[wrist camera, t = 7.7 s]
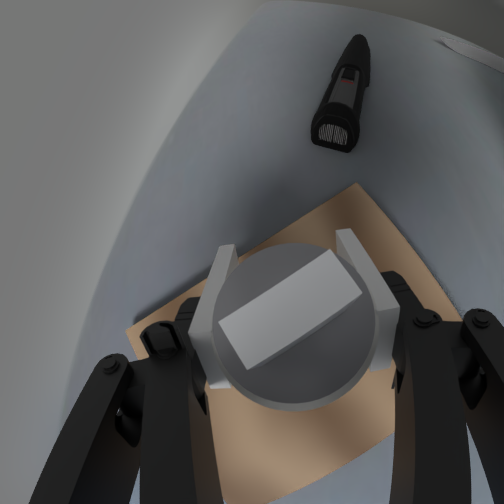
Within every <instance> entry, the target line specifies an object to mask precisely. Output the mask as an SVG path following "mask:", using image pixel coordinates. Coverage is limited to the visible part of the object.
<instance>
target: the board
mask: <svg viewBox="0 0 504 504" xmlns="http://www.w3.org/2000/svg"><path fill="white" fill-rule="evenodd" d="M349 228H351V230H352V231H353V233H354V234H355V236H356V237H357V239H358V240H359V242H360V243H361V245H362V246H363V248H364V249H365V251H366V252H367V254H368V255H369V257H370V258H371V260H372V261H373V263H374V265H375V266H376V268H377V269H378V271H379V273H380V272H386V271H392V270H393V271H395V272H396V273H398V274H400V275H401V276H402V277H403V278H404V279H405V281H406V282H407V284H408V285H409V286H410V288H411V290H412V291H413V292H414V294H415V295H416V297H417V298H418V299H419V301H420V302H421V304H422V305H423V307H424V308H425V309H430V310H433V311H435V312H436V313H438V314H439V315H440V316H441V318H442V320H443V321H463V320H462V319H461V317H460V316H459V314H458V312H457V311H456V309H455V308H454V306H453V305H452V303H451V302H450V300H449V299H448V297H447V296H446V294H445V293H444V291H443V290H442V288H441V287H440V285H439V284H438V282H437V281H436V280H435V278H434V277H433V275H432V274H431V272H430V271H429V270H428V268H427V267H426V266H425V264H424V263H423V261H422V260H421V259H420V257H419V256H418V255H417V253H416V252H415V251H414V250H413V248H412V247H411V246H410V244H409V243H408V242H407V241H406V239H405V238H404V237H403V235H402V234H401V233H400V232H399V230H398V229H397V228H396V227H395V226H394V224H393V223H392V222H391V221H390V219H389V218H388V217H387V216H386V215H385V214H384V212H383V211H382V210H381V209H380V208H379V207H378V205H377V204H376V203H375V202H374V201H373V200H372V198H371V197H370V196H369V195H368V194H367V193H366V192H365V191H364V190H363V188H362V187H361V186H360V185H359V184H358V183H357V182H356V183H354V184H353V185H351V186H350V187H348V188H347V189H345V190H343V191H342V192H340V193H339V194H337V195H336V196H334V197H332V198H331V199H329V200H328V201H326V202H325V203H323V204H322V205H320V206H318V207H317V208H315V209H314V210H312V211H311V212H309V213H307V214H306V215H304V216H303V217H301V218H300V219H298V220H297V221H295V222H293V223H292V224H290V225H289V226H287V227H286V228H284V229H282V230H281V231H279V232H278V233H276V234H275V235H273V236H272V237H270V238H268V239H267V240H265V241H264V242H262V243H261V244H259V245H258V246H256V247H254V248H253V249H251V250H250V251H248V252H247V253H245V254H243V255H242V256H240V257H239V258H238V262H239V264H240V263H242V262H243V261H244V260H246V259H247V258H248V257H250V256H251V255H253V254H255V253H257V252H258V251H261V250H263V249H265V248H268V247H271V246H275V245H279V244H286V243H305V244H311V245H316V246H320V247H322V248H325V249H328V250H329V249H330V250H331V251H332V252H334V253H336V254H337V245H336V230H341V229H349ZM206 281H207V278H206V279H205V280H203V281H201V282H200V283H198V284H197V285H195V286H194V287H192V288H191V289H189V290H188V291H186V292H184V293H183V294H181V295H180V296H178V297H177V298H175V299H174V300H172V301H170V302H169V303H167V304H166V305H164V306H163V307H161V308H160V309H158V310H156V311H155V312H153V313H152V314H150V315H149V316H147V317H146V318H144V319H143V320H141V321H139V322H138V323H136V324H135V325H133V326H132V327H130V328H129V329H127V330H126V334H127V336H128V338H129V340H130V343H131V345H132V347H133V349H134V351H135V354H136V356H137V358H138V360H142V359H145V358H148V357H149V355H148V353H147V351H146V349H145V347H144V345H143V343H142V341H141V339H140V337H139V336H140V334H141V332H142V331H143V330H144V329H145V328H146V327H147V326H149V325H151V324H152V323H155V322H158V321H165V320H168V321H175V320H174V319H175V317H176V315H177V312H178V310H179V308H180V305H181V304H182V303H183V302H184V301H185V300H186V299H187V298H190V297H200V296H201V295H202V292H203V289H204V287H205V284H206ZM395 370H396V365H395V362H394V360H393V357H392V361H391V366H390V368H387V369H382V370H378V371H373V372H370V369H369V367H368V369H367V371H366V373H365V374H364V375H363V377H362V378H361V379H360V381H359V382H358V383H357V384H356V385H355V386H354V387H353V388H352V389H351V390H350V391H348V392H347V393H346V394H345V395H343V396H342V397H340V398H339V399H337V400H335V401H333V402H332V403H329V404H327V405H325V406H322V407H319V408H315V409H312V410H306V411H281V410H275V409H271V408H268V407H264V406H262V405H260V404H258V403H255V402H253V401H252V400H250V399H248V398H247V397H245V396H244V395H243V394H241V393H240V392H239V391H238V390H237V389H235V387H234V386H233V385H232V384H231V388H219V389H210V386H209V384H208V382H207V379H206V384H205V388H204V389H205V392H206V394H207V396H208V402H209V411H210V419H211V426H212V434H213V441H214V448H215V454H216V461H217V467H218V474H219V480H220V485H221V491H222V497H223V499H224V500H225V501H226V503H227V504H267V503H269V502H272V501H274V500H276V499H279V498H281V497H283V496H286V495H288V494H290V493H292V492H294V491H296V490H299V489H301V488H303V487H305V486H307V485H309V484H311V483H313V482H315V481H317V480H318V479H320V478H322V477H324V476H326V475H328V474H330V473H331V472H333V471H335V470H337V469H338V468H340V467H342V466H344V465H345V464H347V463H349V462H350V461H352V460H353V459H355V458H357V457H358V456H360V455H361V454H363V453H364V452H366V451H367V450H369V449H370V448H372V447H373V446H375V445H376V444H378V443H379V442H381V441H382V440H383V439H385V438H386V437H388V436H389V435H390V434H392V433H393V432H394V431H395V387H394V389H391V387H392V382H393V378H394V374H395Z"/></svg>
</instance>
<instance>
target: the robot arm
mask: <svg viewBox="0 0 504 504" xmlns="http://www.w3.org/2000/svg"><path fill="white" fill-rule="evenodd" d="M336 245H337V254H338V255H339V256H340V257H342V258H343V259H345V260H346V261H347V262H348V263H349V264H351V265H352V266H353V267H354V268H355V270H357V272H358V273H359V274H360V275H361V276H362V278H363V279H364V280H365V282H366V283H367V285H368V287H369V288H370V290H371V292H372V295H373V297H374V300H375V303H376V306H377V308H376V313H377V315H378V316H379V337H378V343H377V347H376V351H375V354H374V357H373V359H372V362H371V364H370V366H369V369H370V372H373V371H378V370H382V369H387V368H390V366H391V361H392V357H393V360H394V362H395V365H396V370H395V374H394V378H393V382H392V387H391V389H394V387H395V439H394V459H393V473H392V484H391V493H390V501H389V504H471V469H470V454H469V444H468V435H467V427H466V423H467V426H468V428H469V430H470V433H471V435H472V438H473V441H474V443H475V446H476V448H477V451H478V454H479V457H480V459H481V462H482V465H483V468H484V471H485V474H486V477H487V480H488V484H489V487H490V490H491V494H492V497H493V501H494V504H504V327H503V326H502V324H501V323H500V322H499V321H498V319H497V318H496V317H495V316H494V315H493V314H492V313H491V312H489V311H487V310H484V309H471V310H469V311H467V313H466V314H465V315H464V319H463V321H443V320H442V318H441V316H440V315H439V314H438V313H436V312H435V311H433V310H430V309H425V308H424V307H423V305H422V304H421V302H420V301H419V299H418V298H417V297H416V295H415V294H414V292H413V291H412V290H411V288H410V286H409V285H408V284H407V282H406V281H405V279H404V278H403V277H402V276H401V275H400V274H398V273H396V272H395V271H393V270H392V271H386V272H380V273H379V271H378V269H377V268H376V266H375V265H374V263H373V261H372V260H371V258H370V257H369V255H368V254H367V252H366V251H365V249H364V248H363V246H362V245H361V243H360V242H359V240H358V239H357V237H356V236H355V234H354V233H353V231H352V230H351V228H349V229H341V230H336ZM238 265H239V262H238V257H237V252H236V248H235V244H229V245H222V246H219V249H218V252H217V254H216V257H215V260H214V262H213V265H212V268H211V270H210V273H209V276H208V278H207V281H206V284H205V287H204V289H203V292H202V295H201V296H200V297H190V298H187V299H186V300H185V301H184V302H183V303H182V304H181V305H180V308H179V310H178V312H177V315H176V317H175V319H174V320H175V321H168V320H165V321H158V322H155V323H152V324H151V325H149V326H147V327H146V328H145V329H144V330H143V331H142V332H141V334H140V336H139V337H140V339H141V341H142V343H143V345H144V347H145V349H146V351H147V353H148V355H149V357H148V358H145V359H142V360H137V361H133V362H129V361H128V359H127V358H126V357H125V356H124V355H123V354H118V353H117V354H111V355H108V356H106V357H104V358H103V359H101V360H100V361H99V362H98V364H97V365H96V366H95V368H94V370H93V372H92V374H91V375H90V377H89V379H88V381H87V382H86V384H85V386H84V388H83V390H82V392H81V393H80V395H79V397H78V399H77V401H76V403H75V405H74V407H73V409H72V410H71V412H70V414H69V416H68V418H67V420H66V422H65V424H64V426H63V428H62V430H61V432H60V434H59V436H58V438H57V440H56V442H55V444H54V447H53V449H52V451H51V453H50V455H49V457H48V459H47V462H46V464H45V466H44V468H43V471H42V473H41V475H40V478H39V480H38V482H37V485H36V487H35V489H34V492H33V494H32V497H31V499H30V502H29V504H129V502H130V499H131V495H132V492H133V488H134V484H135V481H136V478H137V474H138V471H139V467H140V504H224V502H223V497H222V491H221V485H220V480H219V474H218V467H217V461H216V454H215V448H214V441H213V434H212V426H211V419H210V411H209V402H208V396H207V394H206V392H205V389H204V388H205V384H206V379H207V382H208V384H209V386H210V389H219V388H231V383H230V382H229V381H228V380H227V378H226V377H225V375H224V374H223V372H222V371H221V369H220V367H219V365H218V363H217V360H216V357H215V355H214V351H213V347H212V342H211V336H212V335H213V334H212V328H211V319H212V314H213V309H214V306H215V302H216V299H217V296H218V294H219V292H220V290H221V287H222V285H223V284H224V282H225V281H226V279H227V278H228V276H229V275H230V274H231V273H232V272H233V270H234V269H235V268H236V267H237V266H238ZM481 367H482V368H481ZM118 409H119V412H118ZM117 412H118V413H117ZM116 414H117V415H116Z"/></svg>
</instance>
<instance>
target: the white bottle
mask: <svg viewBox="0 0 504 504" xmlns="http://www.w3.org/2000/svg"><path fill="white" fill-rule="evenodd" d="M376 308H377V306H376V303H375V300H374V297H373V295H372V292H371V290H370V288H369V287H368V285H367V283H366V282H365V280H364V279H363V278H362V276H361V275H360V274H359V273H358V272H357V270H355V268H354V267H353V266H352V265H351V264H349V263H348V262H347V261H346V260H345V259H343V258H342V257H340V256H339V255H338V254H336V253H334V252H332V251H331V250H330V249H329V250H328V249H325V248H322V247H320V246H316V245H311V244H305V243H286V244H279V245H275V246H271V247H268V248H265V249H263V250H261V251H258V252H257V253H255V254H253V255H251V256H250V257H248V258H247V259H246V260H244V261H243V262H242V263H240V264H239V265H238V266H237V267H236V268H235V269H234V270H233V272H232V273H231V274H230V275H229V276H228V278H227V279H226V281H225V282H224V284H223V285H222V287H221V290H220V292H219V294H218V296H217V299H216V302H215V306H214V309H213V314H212V319H211V328H212V334H213V335H212V336H211V342H212V347H213V351H214V355H215V357H216V360H217V363H218V365H219V367H220V369H221V371H222V372H223V374H224V375H225V377H226V378H227V380H228V381H229V382H230V383H231V384H232V385H233V386H234V387H235V389H237V390H238V391H239V392H240V393H241V394H243V395H244V396H245V397H247V398H248V399H250V400H252V401H253V402H255V403H258V404H260V405H262V406H264V407H268V408H271V409H275V410H281V411H306V410H312V409H315V408H319V407H322V406H325V405H327V404H329V403H332V402H333V401H335V400H337V399H339V398H340V397H342V396H343V395H345V394H346V393H347V392H348V391H350V390H351V389H352V388H353V387H354V386H355V385H356V384H357V383H358V382H359V381H360V379H361V378H362V377H363V375H364V374H365V373H366V371H367V369H368V367H369V366H370V364H371V362H372V359H373V357H374V354H375V351H376V347H377V343H378V337H379V316H378V315H377V313H376Z"/></svg>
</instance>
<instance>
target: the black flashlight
mask: <svg viewBox="0 0 504 504" xmlns="http://www.w3.org/2000/svg"><path fill="white" fill-rule="evenodd" d="M369 83H370V49H369V46H368V43H367V40H366V38H365V37H364V36H363V35H361V34H357V35H355V36H354V37H353V38H352V39H351V41H350V42H349V44H348V45H347V47H346V48H345V50H344V52H343V54H342V56H341V58H340V60H339V62H338V63H337V65H336V67H335V69H334V71H333V74H332V80H331V82H330V84H329V86H328V88H327V91H326V93H325V95H324V97H323V99H322V102H321V104H320V106H319V108H318V110H317V112H316V114H315V116H314V118H313V121H312V125H311V140H312V142H313V143H314V144H315V145H319V146H322V147H326V148H330V149H334V150H338V151H341V152H346V153H348V152H351V150H352V149H353V148H354V147H355V146H356V144H357V141H358V138H359V133H360V124H359V120H360V113H361V106H362V100H363V94H364V90H365V88H366V87H368V86H369Z"/></svg>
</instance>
